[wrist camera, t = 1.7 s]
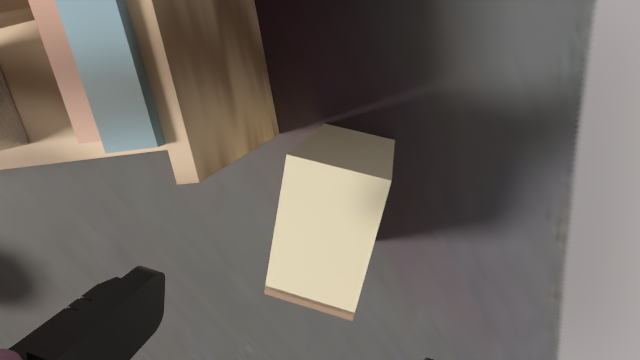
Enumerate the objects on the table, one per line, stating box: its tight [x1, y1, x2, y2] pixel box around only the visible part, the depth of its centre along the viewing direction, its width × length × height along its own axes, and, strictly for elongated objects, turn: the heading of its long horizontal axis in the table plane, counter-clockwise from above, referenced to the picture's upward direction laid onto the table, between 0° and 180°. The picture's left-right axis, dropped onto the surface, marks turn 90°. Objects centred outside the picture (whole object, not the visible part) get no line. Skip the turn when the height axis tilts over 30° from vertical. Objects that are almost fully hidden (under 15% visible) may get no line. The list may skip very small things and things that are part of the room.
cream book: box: [264, 123, 395, 321], centre depth 20 cm, size 7×4×8 cm, turn 169°
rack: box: [0, 0, 279, 184], centre depth 20 cm, size 10×25×10 cm, turn 99°
